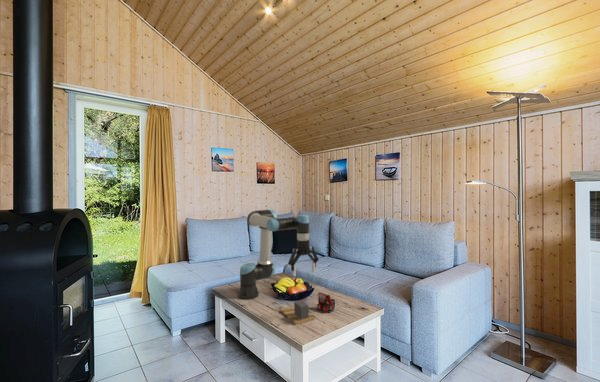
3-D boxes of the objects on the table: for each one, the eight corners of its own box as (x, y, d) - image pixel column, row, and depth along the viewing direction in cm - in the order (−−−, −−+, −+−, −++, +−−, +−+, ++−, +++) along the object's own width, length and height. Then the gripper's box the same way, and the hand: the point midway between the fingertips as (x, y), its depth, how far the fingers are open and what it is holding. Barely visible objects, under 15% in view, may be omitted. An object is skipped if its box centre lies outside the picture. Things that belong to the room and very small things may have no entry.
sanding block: (294, 314, 180) (294, 302, 180) (301, 313, 182) (301, 300, 182) (301, 320, 172) (301, 307, 172) (308, 318, 174) (308, 305, 174)
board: (280, 311, 189) (280, 309, 189) (298, 307, 195) (298, 304, 195) (295, 324, 170) (295, 322, 170) (314, 319, 176) (314, 317, 176)
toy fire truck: (329, 314, 183) (328, 297, 183) (315, 308, 192) (314, 293, 192) (336, 311, 188) (335, 295, 188) (322, 305, 197) (321, 290, 197)
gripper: (287, 242, 170) (288, 279, 170) (323, 238, 182) (324, 272, 182) (282, 241, 177) (283, 275, 177) (317, 237, 188) (318, 269, 189)
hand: (303, 274), depth 179 cm, fingers open, 13 cm apart
